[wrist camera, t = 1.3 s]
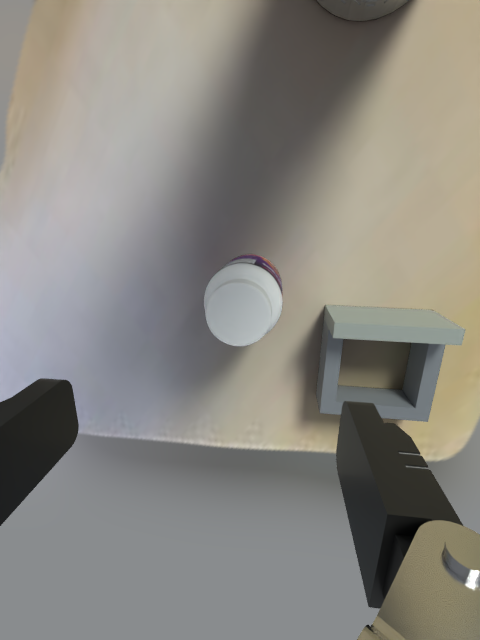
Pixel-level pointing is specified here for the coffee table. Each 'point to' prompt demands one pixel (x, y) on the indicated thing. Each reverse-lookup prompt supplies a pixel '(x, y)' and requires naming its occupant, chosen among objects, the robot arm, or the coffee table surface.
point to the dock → (385, 325)
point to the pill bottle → (243, 300)
